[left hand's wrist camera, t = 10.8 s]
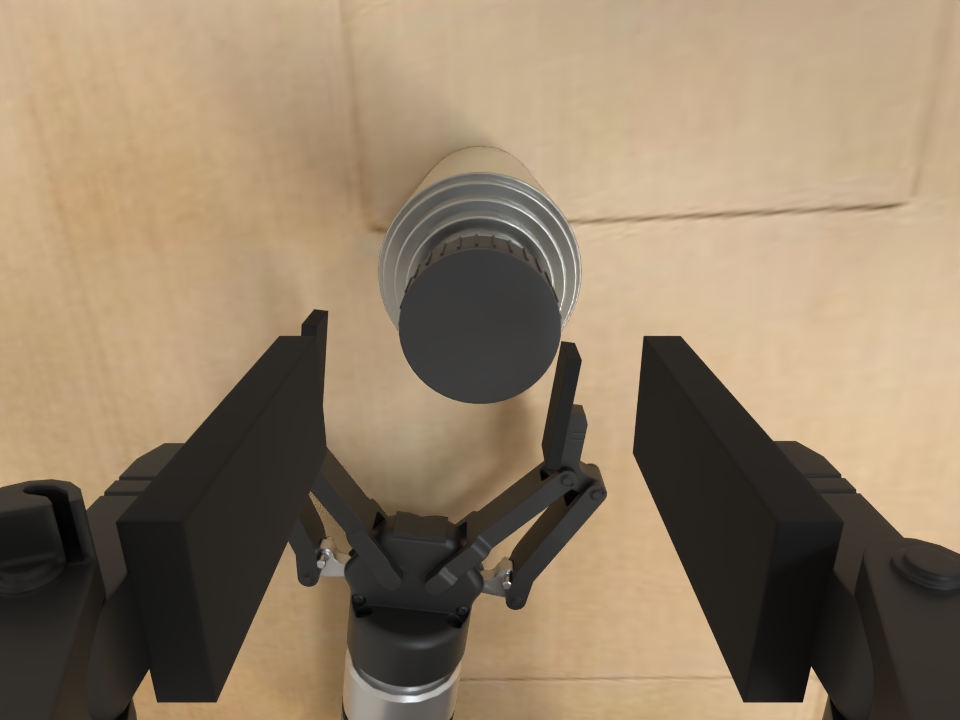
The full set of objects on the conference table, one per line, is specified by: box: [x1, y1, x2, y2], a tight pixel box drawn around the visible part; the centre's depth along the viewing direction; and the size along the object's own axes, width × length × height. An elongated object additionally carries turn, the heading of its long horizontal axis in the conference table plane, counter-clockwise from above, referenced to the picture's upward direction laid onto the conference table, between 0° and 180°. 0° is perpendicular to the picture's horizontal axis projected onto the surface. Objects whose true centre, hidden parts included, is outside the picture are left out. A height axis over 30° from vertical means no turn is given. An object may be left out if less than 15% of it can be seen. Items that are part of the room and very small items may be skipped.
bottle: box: [378, 147, 582, 331], centre depth 29 cm, size 7×7×22 cm
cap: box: [398, 234, 562, 404], centre depth 19 cm, size 5×5×2 cm
